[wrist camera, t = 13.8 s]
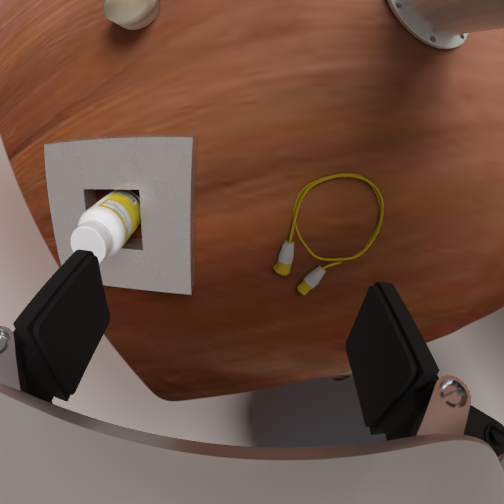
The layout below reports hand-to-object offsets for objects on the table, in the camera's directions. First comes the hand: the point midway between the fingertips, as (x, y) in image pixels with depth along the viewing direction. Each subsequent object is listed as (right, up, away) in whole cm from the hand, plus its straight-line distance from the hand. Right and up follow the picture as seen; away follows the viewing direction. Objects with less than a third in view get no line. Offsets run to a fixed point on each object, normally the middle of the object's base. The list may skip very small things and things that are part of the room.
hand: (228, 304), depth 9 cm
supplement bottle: (-14, +7, +23) cm, 28 cm away
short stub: (-12, +28, +12) cm, 32 cm away
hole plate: (-15, +7, +23) cm, 28 cm away
